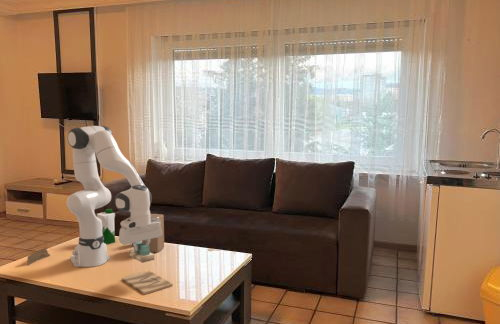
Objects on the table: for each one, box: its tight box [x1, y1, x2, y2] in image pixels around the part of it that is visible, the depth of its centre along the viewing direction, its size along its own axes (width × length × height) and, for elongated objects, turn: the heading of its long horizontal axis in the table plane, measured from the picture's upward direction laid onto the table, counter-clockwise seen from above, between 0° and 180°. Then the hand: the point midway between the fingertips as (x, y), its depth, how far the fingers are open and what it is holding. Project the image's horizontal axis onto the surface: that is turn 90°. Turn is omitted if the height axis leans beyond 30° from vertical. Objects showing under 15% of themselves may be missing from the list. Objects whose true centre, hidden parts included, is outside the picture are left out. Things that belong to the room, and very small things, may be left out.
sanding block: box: [129, 241, 155, 264], centre depth 193 cm, size 12×6×6 cm, turn 42°
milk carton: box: [96, 208, 116, 245], centre depth 251 cm, size 9×9×20 cm
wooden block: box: [141, 213, 165, 253], centre depth 238 cm, size 10×10×20 cm
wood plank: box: [26, 247, 51, 266], centre depth 221 cm, size 15×2×5 cm, turn 169°
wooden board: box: [121, 270, 174, 296], centre depth 192 cm, size 22×14×1 cm, turn 42°
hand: (141, 249), depth 193 cm, fingers closed on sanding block, 3 cm apart
